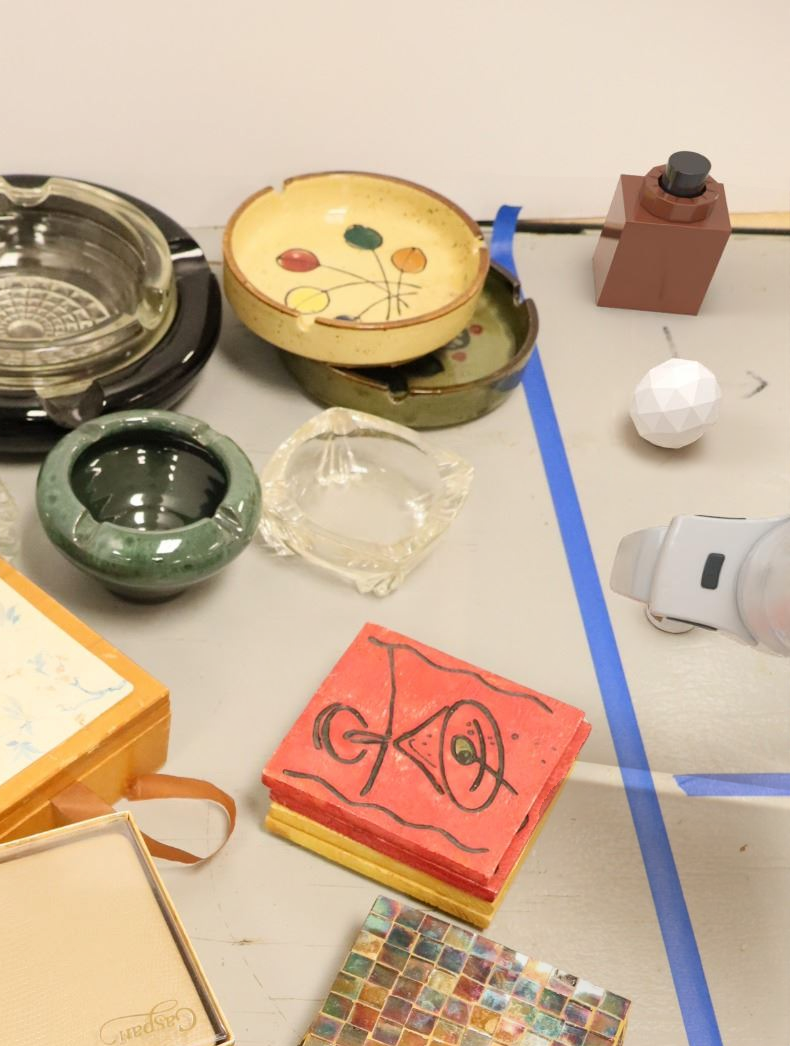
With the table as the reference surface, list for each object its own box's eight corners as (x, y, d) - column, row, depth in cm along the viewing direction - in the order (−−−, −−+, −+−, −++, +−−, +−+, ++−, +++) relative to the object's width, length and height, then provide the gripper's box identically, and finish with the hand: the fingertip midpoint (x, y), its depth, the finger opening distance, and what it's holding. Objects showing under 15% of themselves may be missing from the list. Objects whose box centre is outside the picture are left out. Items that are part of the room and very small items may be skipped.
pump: (699, 178, 138) (709, 152, 136) (703, 202, 136) (713, 176, 134) (657, 174, 138) (667, 148, 136) (661, 198, 136) (670, 172, 134)
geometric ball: (670, 455, 136) (748, 406, 131) (644, 473, 131) (725, 422, 125) (629, 386, 136) (706, 334, 130) (601, 401, 130) (680, 347, 125)
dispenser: (689, 268, 148) (730, 165, 138) (696, 316, 143) (739, 213, 134) (592, 259, 148) (626, 155, 139) (596, 306, 144) (632, 203, 135)
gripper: (989, 566, 88) (900, 570, 101) (652, 508, 90) (609, 520, 103) (957, 668, 89) (874, 659, 103) (627, 609, 91) (587, 608, 105)
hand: (738, 589), depth 103 cm, fingers open, 8 cm apart
